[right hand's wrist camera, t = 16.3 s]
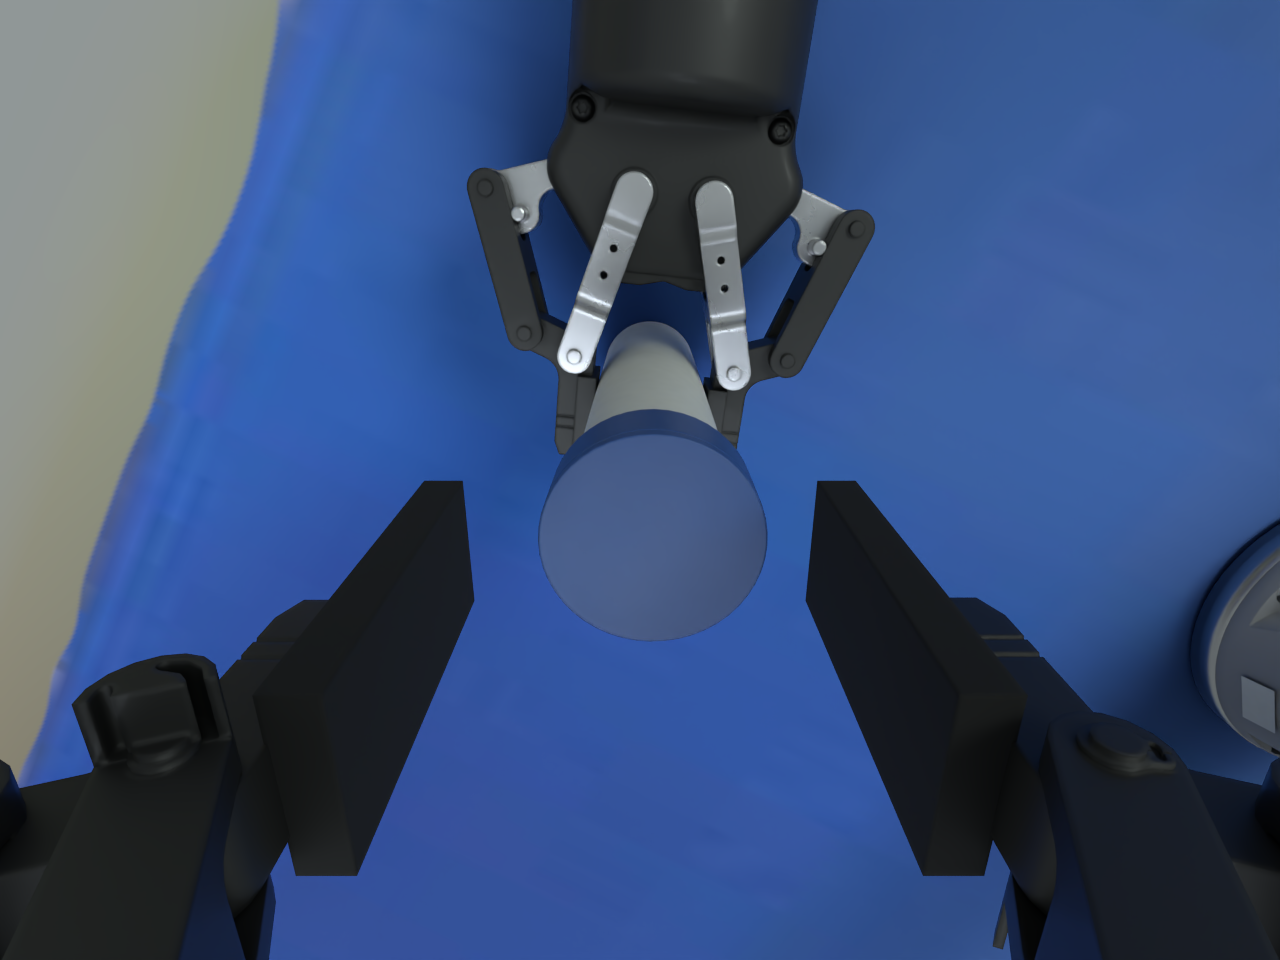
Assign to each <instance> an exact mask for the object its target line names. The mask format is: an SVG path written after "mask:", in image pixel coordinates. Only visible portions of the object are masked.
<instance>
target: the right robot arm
mask: <svg viewBox="0 0 1280 960" xmlns="http://www.w3.org/2000/svg"><path fill="white" fill-rule="evenodd" d="M473 603H474V592H473V582H472V572H471V561H470V551H469V541H468V531H467V521H466V511H465V500H464V490H463V481H424V482H423V483H422V484H421V486H420V487H419V488H418V489H417V491H416V492H415V493H414V494H413V496H412V497H411V498H410V499H409V501H408V502H407V503H406V504H405V506H404V507H403V508H402V509H401V511H400V512H399V513H398V514H397V516H396V517H395V518H394V519H393V521H392V522H391V523H390V524H389V526H388V527H387V528H386V529H385V531H384V532H383V533H382V534H381V536H380V537H379V538H378V539H377V540H376V542H375V543H374V544H373V545H372V547H371V548H370V549H369V550H368V552H367V553H366V554H365V555H364V557H363V558H362V559H361V560H360V562H359V563H358V564H357V565H356V567H355V568H354V569H353V570H352V572H351V573H350V574H349V575H348V577H347V578H346V579H345V580H344V582H343V583H342V584H341V585H340V587H339V588H338V589H337V590H336V592H335V593H334V594H333V595H332V597H331V598H330V599H329V600H303V601H302V602H300V603H298V604H297V605H295V606H293V607H292V608H290V609H289V610H287V611H285V612H284V613H282V614H280V615H279V616H277V617H275V618H274V620H273V621H272V622H271V623H270V624H269V625H268V626H267V627H266V628H265V630H264V631H263V632H262V633H261V634H260V635H259V636H258V637H257V642H253V643H252V644H251V645H250V646H249V647H248V648H247V650H246V651H245V652H244V653H243V654H242V655H241V660H237V661H236V662H235V663H234V664H233V665H232V666H231V667H230V668H229V670H228V671H227V672H226V673H225V674H224V675H223V676H222V677H221V678H220V680H219V677H218V673H217V669H216V665H215V664H214V663H213V662H211V661H210V660H209V659H207V658H206V657H204V656H198V655H192V654H175V655H164V656H158V657H155V658H151V659H147V660H143V661H140V662H136V663H133V664H131V665H128V666H126V667H124V668H121V669H119V670H117V671H114V672H112V673H110V674H108V675H106V676H105V677H103V678H102V679H100V680H99V681H97V682H95V683H94V684H92V685H91V686H89V687H88V688H86V689H85V690H84V691H83V692H82V694H81V695H80V696H79V697H78V698H77V699H76V700H75V701H74V702H73V704H72V707H73V710H74V713H75V715H76V718H77V721H78V724H79V727H80V729H81V732H82V735H83V738H84V740H85V743H86V746H87V749H88V752H89V754H90V757H91V760H92V763H93V766H94V768H93V770H92V772H91V773H88V774H84V775H79V776H74V777H70V778H65V779H61V780H56V781H51V782H47V783H42V784H37V785H33V786H28V787H24V788H19V787H18V784H17V782H16V780H15V777H14V775H13V772H12V770H11V768H10V766H9V765H8V764H6V763H5V762H3V761H2V760H0V960H269V953H270V945H271V937H272V929H273V921H274V912H275V904H276V900H275V893H274V887H273V883H272V879H271V875H270V873H271V871H272V869H273V867H274V866H275V864H276V862H277V860H278V858H279V857H280V855H281V853H282V851H283V849H284V848H285V846H286V844H287V842H288V845H289V849H290V853H291V857H292V862H293V866H294V870H295V874H296V876H357V874H358V872H359V870H360V867H361V865H362V863H363V860H364V858H365V856H366V853H367V851H368V849H369V846H370V844H371V842H372V839H373V837H374V835H375V832H376V830H377V828H378V825H379V823H380V820H381V818H382V816H383V813H384V811H385V809H386V806H387V804H388V802H389V799H390V797H391V795H392V792H393V790H394V788H395V785H396V783H397V781H398V778H399V776H400V774H401V771H402V769H403V767H404V764H405V762H406V760H407V757H408V755H409V753H410V750H411V748H412V746H413V743H414V741H415V738H416V736H417V734H418V731H419V729H420V727H421V724H422V722H423V720H424V717H425V715H426V713H427V710H428V708H429V706H430V703H431V701H432V699H433V696H434V694H435V692H436V689H437V687H438V685H439V682H440V680H441V678H442V675H443V673H444V671H445V668H446V666H447V663H448V661H449V659H450V656H451V654H452V652H453V649H454V647H455V645H456V642H457V640H458V638H459V635H460V633H461V631H462V628H463V626H464V624H465V621H466V619H467V617H468V614H469V612H470V610H471V607H472V605H473ZM806 603H807V605H808V607H809V610H810V612H811V614H812V617H813V619H814V621H815V624H816V626H817V628H818V631H819V633H820V635H821V638H822V640H823V642H824V645H825V647H826V649H827V652H828V654H829V656H830V659H831V661H832V663H833V666H834V668H835V671H836V673H837V675H838V678H839V680H840V682H841V685H842V687H843V689H844V692H845V694H846V696H847V699H848V701H849V703H850V706H851V708H852V710H853V713H854V715H855V717H856V720H857V722H858V724H859V727H860V729H861V731H862V734H863V736H864V738H865V741H866V743H867V746H868V748H869V750H870V753H871V755H872V757H873V760H874V762H875V764H876V767H877V769H878V771H879V774H880V776H881V778H882V781H883V783H884V785H885V788H886V790H887V792H888V795H889V797H890V799H891V802H892V804H893V806H894V809H895V811H896V813H897V816H898V818H899V820H900V823H901V825H902V828H903V830H904V832H905V835H906V837H907V839H908V842H909V844H910V846H911V849H912V851H913V853H914V856H915V858H916V860H917V863H918V865H919V867H920V870H921V872H922V874H923V876H984V874H985V870H986V866H987V862H988V857H989V853H990V849H991V845H992V841H994V842H995V844H996V846H997V848H998V849H999V851H1000V853H1001V855H1002V856H1003V858H1004V860H1005V862H1006V864H1007V865H1008V867H1009V869H1010V875H1009V879H1008V883H1007V887H1006V890H1005V894H1004V898H1003V902H1002V906H1001V909H1000V913H999V917H998V921H997V925H996V929H995V934H994V941H993V947H997V948H1000V949H1003V947H1004V943H1005V940H1006V936H1007V933H1008V935H1009V943H1010V951H1011V960H1280V524H1279V525H1277V526H1276V527H1274V528H1272V529H1271V530H1270V531H1268V532H1267V533H1266V534H1264V535H1263V536H1261V537H1260V538H1259V539H1258V540H1256V541H1255V542H1254V543H1253V544H1252V545H1250V546H1249V547H1248V548H1247V549H1246V550H1245V551H1244V552H1243V553H1242V554H1241V555H1240V556H1239V557H1237V558H1236V559H1235V560H1234V562H1233V563H1232V564H1231V565H1230V566H1229V567H1228V568H1227V569H1226V571H1225V572H1224V573H1223V574H1222V576H1221V577H1220V578H1219V580H1218V581H1217V582H1216V584H1215V585H1214V587H1213V588H1212V590H1211V592H1210V593H1209V595H1208V596H1207V598H1206V600H1205V602H1204V604H1203V606H1202V608H1201V610H1200V613H1199V615H1198V618H1197V620H1196V624H1195V627H1194V631H1193V635H1192V641H1191V653H1190V659H1191V669H1192V674H1193V678H1194V681H1195V684H1196V687H1197V689H1198V691H1199V693H1200V695H1201V697H1202V698H1203V700H1204V701H1205V702H1206V704H1207V705H1208V706H1209V707H1210V708H1211V709H1212V710H1213V711H1214V713H1215V714H1217V715H1218V716H1219V717H1220V718H1221V719H1222V720H1223V721H1225V722H1226V723H1227V724H1228V725H1229V726H1230V727H1232V728H1233V729H1234V730H1235V731H1236V732H1237V733H1238V734H1240V735H1241V736H1242V737H1243V738H1245V739H1246V740H1247V741H1249V742H1250V743H1252V744H1254V745H1255V746H1257V747H1259V748H1261V749H1263V750H1265V751H1267V752H1269V753H1271V754H1273V755H1275V756H1277V757H1279V758H1278V759H1276V760H1275V761H1273V762H1272V763H1271V765H1270V768H1269V770H1268V772H1267V775H1266V777H1265V780H1264V782H1263V784H1262V785H1258V784H1253V783H1248V782H1244V781H1239V780H1234V779H1230V778H1225V777H1220V776H1216V775H1211V774H1206V773H1202V772H1197V771H1193V770H1190V769H1187V767H1186V765H1185V764H1184V763H1183V761H1182V760H1181V759H1180V757H1179V756H1178V755H1177V754H1176V752H1175V751H1174V750H1173V749H1172V748H1171V747H1170V746H1168V745H1167V744H1166V743H1164V742H1163V741H1162V740H1160V739H1159V738H1158V737H1156V736H1155V735H1154V734H1153V733H1151V732H1149V731H1146V730H1144V729H1142V728H1140V727H1138V726H1136V725H1134V724H1132V723H1130V722H1128V721H1126V720H1122V719H1119V718H1116V717H1113V716H1109V715H1106V714H1103V713H1094V712H1092V710H1091V709H1090V708H1089V707H1088V706H1087V705H1086V704H1085V703H1084V702H1083V701H1082V699H1081V698H1080V697H1079V696H1078V695H1077V694H1076V693H1075V692H1074V691H1073V689H1072V688H1071V687H1070V686H1069V685H1068V684H1067V683H1066V682H1065V681H1064V680H1063V678H1062V677H1061V676H1060V675H1059V674H1058V673H1057V672H1056V671H1055V670H1054V669H1053V667H1052V666H1051V665H1050V664H1049V663H1048V662H1047V661H1046V660H1045V659H1044V658H1043V657H1040V656H1039V652H1038V651H1037V650H1036V649H1035V648H1034V646H1033V645H1032V644H1031V643H1030V642H1029V641H1028V640H1024V635H1023V634H1022V633H1021V632H1020V631H1019V630H1018V629H1017V628H1016V627H1015V626H1014V624H1013V623H1012V622H1011V621H1010V620H1009V619H1008V618H1007V617H1006V616H1005V615H1004V614H1002V613H1001V612H999V611H997V610H996V609H994V608H992V607H991V606H989V605H988V604H986V603H984V602H983V601H981V600H979V599H978V598H949V597H948V595H947V594H946V593H945V592H944V590H943V589H942V588H941V587H940V585H939V584H938V583H937V582H936V580H935V579H934V578H933V577H932V575H931V574H930V573H929V572H928V570H927V569H926V568H925V567H924V565H923V564H922V563H921V562H920V560H919V559H918V558H917V557H916V555H915V554H914V553H913V552H912V550H911V549H910V548H909V547H908V545H907V544H906V543H905V542H904V540H903V539H902V538H901V537H900V536H899V534H898V533H897V532H896V531H895V529H894V528H893V527H892V526H891V524H890V523H889V522H888V521H887V519H886V518H885V517H884V516H883V514H882V513H881V512H880V511H879V509H878V508H877V507H876V506H875V504H874V503H873V502H872V501H871V499H870V498H869V497H868V496H867V494H866V493H865V492H864V491H863V489H862V488H861V487H860V486H859V484H858V483H857V482H856V481H817V490H816V500H815V511H814V521H813V531H812V541H811V551H810V561H809V572H808V582H807V592H806Z"/></svg>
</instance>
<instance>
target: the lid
mask: <svg viewBox="0 0 1280 960" xmlns="http://www.w3.org/2000/svg"><path fill="white" fill-rule="evenodd" d="M538 544H539V553H540V558H541V561H542V565H543V569H544V571H545V573H546V576H547V578H548V580H549V582H550V584H551V586H552V587H553V589H554V591H555V592H556V594H557V595H558V596H559V597H560V599H561V600H562V601H563V603H564V604H565V605H566V606H567V607H568V608H569V609H570V610H571V611H572V612H574V613H575V614H576V615H577V616H579V617H580V618H581V619H583V620H584V621H586V622H587V623H589V624H591V625H592V626H594V627H596V628H598V629H600V630H602V631H604V632H607V633H609V634H612V635H615V636H619V637H622V638H627V639H632V640H640V641H666V640H673V639H679V638H683V637H686V636H690V635H693V634H696V633H698V632H701V631H703V630H706V629H707V628H709V627H711V626H713V625H715V624H717V623H718V622H720V621H721V620H723V619H724V618H725V617H727V616H728V615H729V614H730V613H732V612H733V611H734V610H735V609H736V608H737V607H738V606H739V605H740V604H741V603H742V602H743V600H744V599H745V598H746V597H747V596H748V594H749V593H750V591H751V590H752V588H753V586H754V585H755V583H756V581H757V579H758V577H759V575H760V573H761V570H762V567H763V564H764V560H765V556H766V550H767V525H766V518H765V514H764V511H763V507H762V504H761V501H760V499H759V496H758V494H757V491H756V489H755V486H754V484H753V481H752V479H751V476H750V474H749V472H748V469H747V467H746V465H745V463H744V461H743V459H742V458H741V456H740V454H739V453H738V451H737V450H736V449H735V447H734V446H733V445H732V444H731V443H730V441H729V440H728V439H726V438H725V437H724V436H723V435H722V434H721V433H720V432H719V431H717V430H716V429H714V428H713V427H711V426H710V425H709V424H707V423H705V422H703V421H701V420H699V419H697V418H695V417H692V416H689V415H686V414H684V413H680V412H675V411H670V410H661V409H642V410H635V411H629V412H625V413H622V414H618V415H615V416H612V417H610V418H608V419H606V420H604V421H601V422H600V423H598V424H596V425H595V426H593V427H592V428H590V429H589V430H587V431H586V432H585V433H584V434H583V435H581V436H580V437H579V438H578V439H577V440H576V441H575V442H574V443H573V445H572V446H571V447H570V448H569V449H568V451H567V452H566V454H565V455H564V457H563V458H562V460H561V462H560V464H559V466H558V468H557V470H556V473H555V476H554V479H553V481H552V484H551V487H550V490H549V492H548V495H547V498H546V501H545V504H544V507H543V510H542V513H541V517H540V523H539V533H538Z"/></svg>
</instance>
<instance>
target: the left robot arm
mask: <svg viewBox="0 0 1280 960" xmlns="http://www.w3.org/2000/svg"><path fill="white" fill-rule="evenodd" d="M817 4H818V0H573V3H572V19H571V36H570V52H569V69H568V85H567V102H566V112H565V117H564V121H563V124H562V127H561V129H560V131H559V133H558V135H557V137H556V139H555V140H554V142H553V143H552V145H551V147H550V149H549V152H548V156H547V159H546V160H542V161H537V162H533V163H529V164H525V165H520V166H516V167H512V168H508V169H504V170H495V169H491V168H479V169H477V170H475V171H474V172H473V173H472V174H471V175H470V176H469V179H468V182H467V191H468V195H469V199H470V202H471V206H472V209H473V213H474V217H475V220H476V224H477V228H478V231H479V235H480V238H481V242H482V246H483V249H484V253H485V256H486V260H487V264H488V267H489V271H490V275H491V278H492V282H493V285H494V289H495V293H496V296H497V300H498V304H499V307H500V311H501V314H502V318H503V322H504V325H505V329H506V333H507V336H508V339H509V341H510V343H511V344H512V345H513V346H514V347H515V348H517V349H519V350H522V351H529V350H530V351H532V352H535V353H537V354H539V355H541V356H543V357H545V358H547V359H548V360H550V361H551V362H552V363H553V364H554V366H555V367H556V369H557V371H558V376H559V382H558V397H557V412H556V427H555V443H556V446H557V449H558V452H559V454H564V455H565V454H566V452H567V451H568V449H569V448H570V447H571V446H572V445H573V443H574V442H575V441H576V440H577V439H578V438H579V437H580V436H581V435H583V434H584V431H585V428H586V425H587V421H588V418H589V414H590V411H591V407H592V404H593V401H594V397H595V394H596V390H597V387H598V384H599V377H600V366H595V362H596V351H597V344H598V342H599V339H600V336H601V334H602V331H603V329H604V326H605V323H606V321H607V318H608V315H609V313H610V310H611V307H612V305H613V302H614V299H615V297H616V294H617V291H618V289H619V286H620V284H621V283H627V284H636V285H643V284H649V283H655V282H662V281H664V282H667V283H670V284H672V285H675V286H677V287H680V288H682V289H685V290H690V291H699V292H701V298H702V305H703V312H704V317H705V322H706V329H707V336H708V344H709V351H710V358H711V365H712V368H711V375H710V378H708V377H704V383H703V389H704V392H705V395H706V398H707V401H708V404H709V407H710V410H711V413H712V416H713V419H714V422H715V425H716V428H717V431H719V432H720V433H721V434H722V435H723V436H724V437H725V438H726V439H728V440H729V441H730V443H731V444H732V445H733V446H734V447H735V449H737V443H738V437H739V431H740V424H741V418H742V412H743V406H744V400H745V396H746V393H747V391H748V390H749V389H750V387H751V386H752V385H754V384H755V383H757V382H759V381H762V380H766V379H770V378H774V377H779V376H780V377H783V378H789V377H793V376H795V375H797V374H798V373H799V372H800V371H801V369H802V368H803V366H804V364H805V362H806V360H807V358H808V357H809V355H810V353H811V351H812V349H813V347H814V345H815V343H816V342H817V340H818V338H819V336H820V334H821V332H822V330H823V328H824V327H825V325H826V323H827V321H828V319H829V317H830V315H831V313H832V312H833V310H834V308H835V306H836V304H837V302H838V300H839V298H840V297H841V295H842V293H843V291H844V289H845V287H846V285H847V283H848V282H849V280H850V278H851V276H852V274H853V272H854V270H855V268H856V267H857V265H858V263H859V261H860V259H861V257H862V255H863V253H864V252H865V250H866V248H867V246H868V244H869V242H870V240H871V238H872V237H873V234H874V231H875V224H874V220H873V218H872V216H871V215H870V214H869V213H868V212H866V211H864V210H844V209H842V208H840V207H838V206H836V205H834V204H832V203H830V202H828V201H826V200H824V199H822V198H820V197H818V196H816V195H814V194H812V193H810V192H808V191H806V190H804V189H803V179H802V174H801V171H800V168H799V165H798V162H797V157H796V150H795V138H796V130H797V124H798V117H799V111H800V105H801V99H802V93H803V87H804V81H805V75H806V69H807V63H808V57H809V51H810V45H811V39H812V33H813V27H814V21H815V15H816V9H817ZM553 190H555V192H556V194H557V196H558V197H559V199H560V201H561V203H562V204H563V206H564V208H565V210H566V211H567V213H568V215H569V217H570V218H571V220H572V222H573V224H574V225H575V227H576V229H577V231H578V233H579V234H580V236H581V238H582V240H583V241H584V243H585V245H586V247H587V248H588V250H589V252H590V254H591V257H590V260H589V263H588V266H587V269H586V271H585V274H584V277H583V280H582V283H581V285H580V288H579V291H578V294H577V297H576V300H575V304H574V307H573V310H572V313H571V316H570V318H569V321H568V324H567V323H565V322H563V321H561V320H559V319H557V318H555V317H553V316H551V315H549V314H548V310H547V306H546V302H545V298H544V294H543V290H542V286H541V282H540V278H539V274H538V270H537V266H536V262H535V258H534V254H533V250H532V246H531V242H530V239H529V235H528V232H532V231H534V230H536V229H537V228H538V227H539V226H540V224H541V222H542V219H543V211H542V205H543V201H544V199H545V197H546V196H547V195H548V194H549V193H550V192H551V191H553ZM787 218H789V219H791V221H792V222H793V224H794V227H795V237H794V240H793V243H792V252H793V255H794V257H795V258H796V259H797V260H798V261H799V262H801V265H800V267H799V269H798V271H797V273H796V275H795V277H794V279H793V281H792V283H791V285H790V287H789V289H788V291H787V293H786V295H785V297H784V299H783V301H782V303H781V305H780V307H779V309H778V311H777V313H776V315H775V317H774V319H773V321H772V323H771V325H770V327H769V329H768V331H767V333H766V335H765V337H764V338H763V339H759V340H755V341H751V342H747V333H746V310H745V301H744V292H743V284H742V275H741V269H742V268H743V266H744V265H745V264H746V263H747V262H748V261H749V260H750V259H751V258H752V257H753V255H754V254H755V253H756V252H757V251H758V250H759V249H760V248H761V247H762V246H763V245H764V243H765V242H766V241H767V240H768V239H769V238H770V237H771V236H772V235H773V234H774V232H775V231H776V230H777V229H778V228H779V227H780V226H781V225H782V224H783V223H784V222H785V220H786V219H787Z"/></svg>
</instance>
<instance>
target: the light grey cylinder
mask: <svg viewBox="0 0 1280 960" xmlns="http://www.w3.org/2000/svg"><path fill="white" fill-rule="evenodd" d="M642 409H661V410H670V411H675V412H680V413H684V414H686V415H689V416H692V417H695V418H697V419H699V420H701V421H703V422H705V423H707V424H709V425H710V426H711V427H713V428H714V429H716V430H717V428H716V425H715V422H714V419H713V416H712V413H711V410H710V407H709V404H708V401H707V398H706V395H705V392H704V389H703V386H702V383H701V380H700V376H699V373H698V370H697V367H696V364H695V361H694V358H693V355H692V352H691V350H690V347H689V345H688V343H687V342H686V340H685V339H684V338H683V336H682V335H681V334H680V333H679V332H678V331H676V330H675V329H674V328H672V327H670V326H668V325H666V324H663V323H659V322H652V321H648V322H640V323H636V324H633V325H631V326H629V327H627V328H626V329H624V330H623V331H622V332H621V333H619V334H618V335H617V337H616V338H615V339H614V340H613V342H612V343H611V345H610V347H609V350H608V353H607V356H606V360H605V363H604V366H603V370H602V373H601V377H600V380H599V384H598V387H597V390H596V394H595V397H594V401H593V404H592V407H591V411H590V414H589V418H588V421H587V425H586V428H585V431H584V433H585V432H586V431H587V430H589V429H590V428H592V427H593V426H595V425H596V424H598V423H600V422H601V421H604V420H606V419H608V418H610V417H612V416H615V415H618V414H622V413H625V412H629V411H635V410H642Z"/></svg>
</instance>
